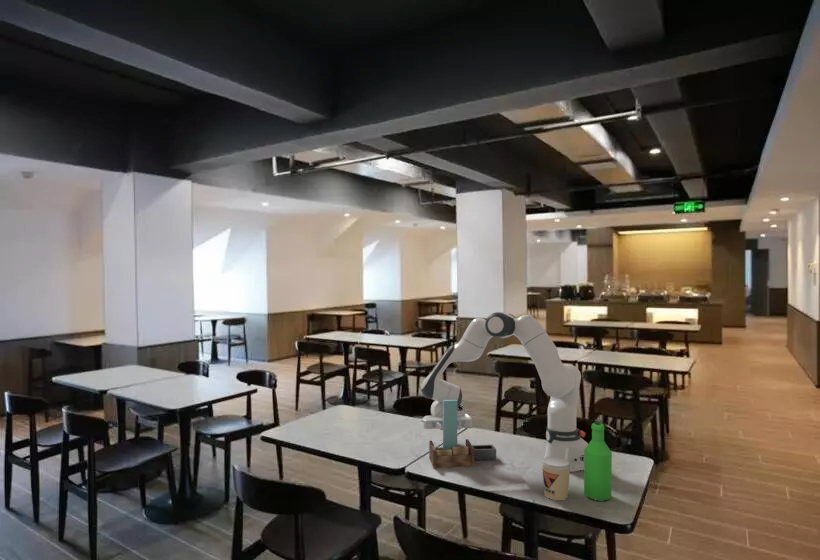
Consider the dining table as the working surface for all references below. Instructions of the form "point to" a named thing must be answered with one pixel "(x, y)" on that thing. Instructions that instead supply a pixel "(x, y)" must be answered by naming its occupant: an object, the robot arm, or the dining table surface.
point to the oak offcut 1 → (444, 452)
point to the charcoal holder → (484, 453)
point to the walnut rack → (451, 458)
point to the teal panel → (449, 424)
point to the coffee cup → (556, 477)
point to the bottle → (597, 466)
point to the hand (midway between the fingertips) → (450, 427)
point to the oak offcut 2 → (460, 450)
